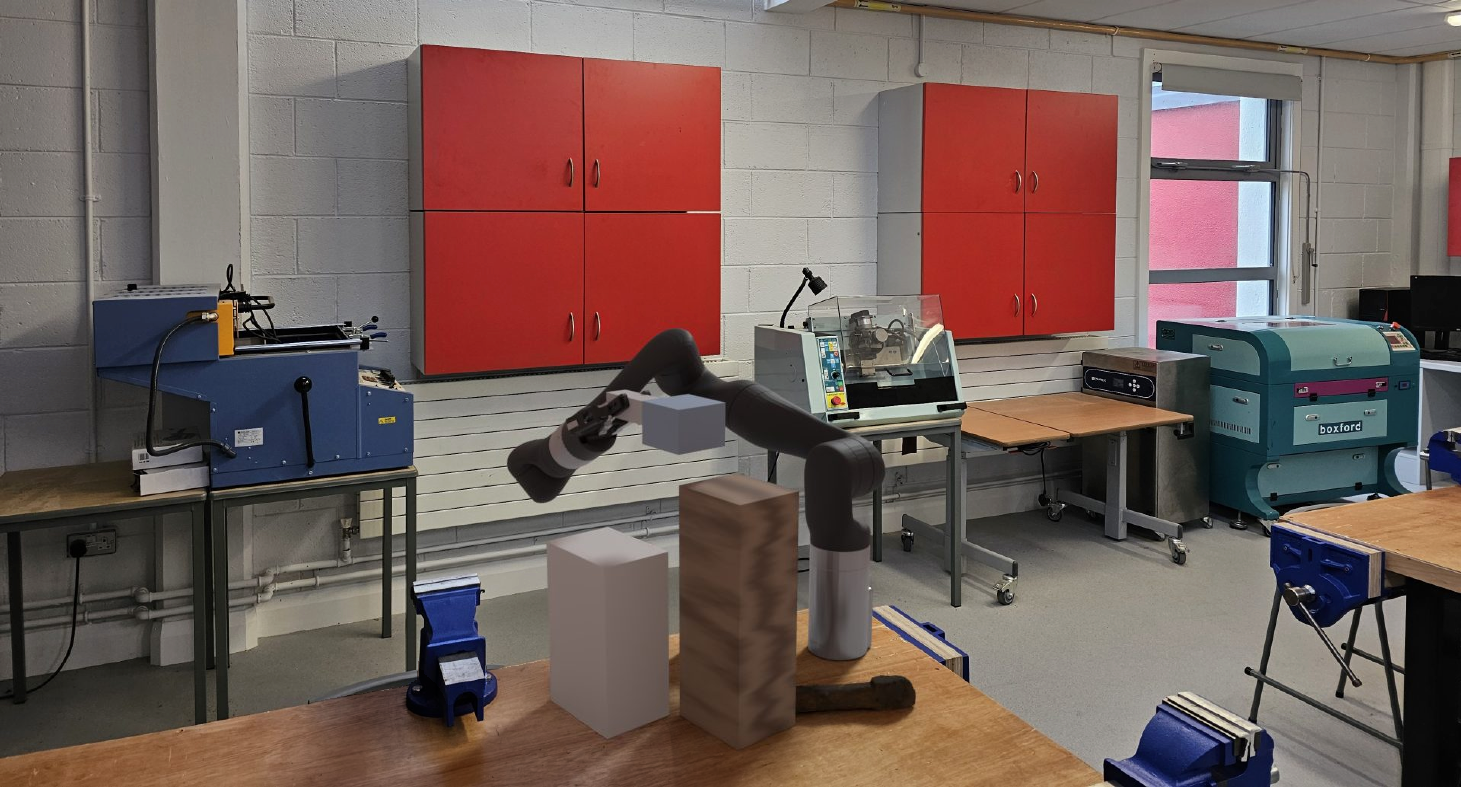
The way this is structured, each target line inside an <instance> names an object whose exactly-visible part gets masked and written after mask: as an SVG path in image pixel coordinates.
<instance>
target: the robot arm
mask: <svg viewBox="0 0 1461 787" xmlns="http://www.w3.org/2000/svg"><path fill="white" fill-rule="evenodd" d="M653 379H654V381H655V384H656V385H657V386H658V388H659V389H660V390H661V392H663V393H664V394H665V395H667V396H668V397H672V396H679V395H686V394H690V395H694V396H698V397H703V398H707V399H711V400H716V401H720V402H725V428H727V429H728V430H729V431H731V432H732V433H734V434H735V435H736V436H738V437H740V438H741V439H743V440H745V441H747V443H750V444H752V445H754V446H756V447H758V448H761V449H765V450H769V451H770V452H775V453H780V454H784V455H788V456H794V457H796V458H800V459H803V460H805V463H804V469H803V470H804V471H803V486H804V487H803V488H804V489H803V490H804V493H803V494H804V513H805V514H804V516H805V522H806V525H807V528H808V532H809V570H808V571H809V573H808V574H809V580H808V622H807V623H808V627H807V629H808V630H807V631H808V633H807V649H808V650H809V652H810V653H811V654H813V655H815V656H817V657H819V658H823V659H826V660H833V661H850V660H855V659H858V658H861V657H863V656H864V655H865V654H866V653H867V652H868V649H869V648H870V647H872V642H873V640H872V639H873V638H872V637H873V635H872V634H873V610H874V608H873V607H874V606H873V605H874V604H873V602H874V590H873V588H872V587H871V586H870V569H871V565H870V564H871V539H872V538H871V536H872V534H871V533H872V532H871V527H870V525H869V524H868V523H867V522H866V521H865V520H864V521H863V520H861V519H858V518H854V512H853V499H857V498H860V497H864V496H867V495H869V494H871V493H873V492H874V491H876V490H877V489H878V488H880V487H881V486H882V483H883V482H884V480H885V477H886V472H887V471H886V464H885V461H884V458H883V457H882V454H881V452H880V451H879V450H878V449H877V447H876V446H875V445H874V444H873V443H872V442H871V441H869V440H868V439H867V438H865V437H862V436H860V435H859V434H855V433H853V432H851V431H848V430H846V429H842V428H841V427H839V426H836V425H833V424H831V423H829V422H827V421H824V420H822V419H821V418H820V417H818V416H815V415H814V414H812V413H810V412H808V411H807V410H806V409H803V408H801V407H800V406H799V405H796V404H795V403H793V402H791V401H789V400H787V399H786V398H784V397H782V396H781V395H779V394H778V393H777V392H775V391H773V390H771V389H769V388H768V387H767V386H765V385H762V384H761V383H759V382H756V381H754V380H750V379H738V380H736V379H735V380H730V381H725V380H724V379H722V378H721V377H719V376H717V375H715V374H714V373H713V372H711V370H709V369H708V368H707V367H706V365H705V363H704V362H703V360H702V357H701V354H700V351H699V349H698V346H697V343H696V341H695V339H694V337H693V335H692V334H691V333H690V331H688V330H686V329H684V328H680V327H672V328H668V329H666V330H662V331H661V332H660V333H657V334H656V335H654V336H653V337H652V338H650V340H648V342H647V343H646V344H644V346H642V347H641V349H640V350H639V351H638V352H637V353H636V354H635V355H634V357H633V358H632V359H631V360H630V361H629V362H628V363H627V364H626V365H625V366H624V367H623V368H622V369H621V371H620V372H619V373H618V374H617V375H616V376H615V377H614V379H613V380H611V381H610V383H609V384H608V385H607V386H606V387H605V388H604V389H603V390H602V391H601V392H599V394H598V395H597V396H596V397H595V398H594V399H593V400H591V401H590V402H589V403H588V404H586V406H584V407H581V408H580V409H579V410H577V411H576V412H575V413H574V414H573V415H571V416H570V417H567V418H566V419H565V421H564V422H562V423H561V424H560V425H559V426H557V428H556V429H555V430H554V431H553V432H552V433H550V434H549V435H548V436H547V437H544V438H539V439H538V438H537V439H533V440H529V441H525V442H523V443H521V444H519V445H517V446H516V447H514V448H513V449H512V450H511V452H510V453H509V454H508V456H507V459H506V468H507V470H508V472H509V473H510V475H511V476H512V477H513V479H515V481H516V482H517V484H518V485H519V486H520V487H521V488H522V489H523V491H524V492H525V493H526V494H527V495H528V496H529V498H530V499H531V500H532V501H533V502H534V503H536V504H546V503H550V502H552V501H553V500H555V499H556V498H557V497H559V495H560V493H561V492H562V491H563V490H564V488H565V487H566V485H567V484H568V482H569V480H570V479H572V478H571V477H572V476H573V475H574V473H575V472H577V470H578V469H579V468H581V467H584V466H587V465H589V464H590V463H591V462H593V461H594V460H596V459H597V458H599V457H600V456H602V455H603V454H605V453H606V452H608V451H609V450H611V448H613V446H614V445H615V443H616V441H617V437H618V434H619V433H621V432H622V431H624V429H625V428H626V427H628V426H629V427H630V426H631V425H632V424H634V423H633V422H629V421H626V420H622V419H619V418H615V416H618V415H620V414H621V413H622V412H624V411H625V410H626V409H628V408H629V407H630V404H629V400H628V396H627V394H626V393H623V394H620V395H619V396H617V397H616V398H615V399H613V400H612V401H611V402H606V392H612V391H620V390H629V391H633V392H637V393H641V394H645V395H650V396H652V393H651V391H650V390H649V389H647V390H644V388H645V387H646V386H647V385H648V384H649V382H651V381H652V380H653ZM637 425H638V426H639V425H640V424H637ZM640 426H641V425H640Z"/></svg>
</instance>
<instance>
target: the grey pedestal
mask: <svg viewBox="0 0 1461 787" xmlns="http://www.w3.org/2000/svg"><path fill="white" fill-rule="evenodd" d="M545 545H546V572H547V573H546V576H547V577H546V579H547V581H546V582H547V618H548V647H549V648H548V650H549V652H548V653H549V656H548V658H549V682H550V683H549V684H550V686H549V688H550V689H549V690H550V692H549V693H550V701H551V702H552V703H554V704H555V705H557V706H558V707H559V708H561V709H563V710H564V711H565V712H567V713H568V714H570V715H571V716H573V717H574V718H576V719H577V720H579V721H580V722H582V723H583V724H585V725H586V726H587V727H589V728H590V729H592V730H594V731H595V732H596V733H598V734H599V735H600V736H602V737H604V738H605V739H607V740H609V739H612V738H614V737H616V736H620V735H623V734H624V733H627V732H629V731H631V730H635V729H637V728H640V727H642V726H644V725H645V726H646V725H647V724H651V723H652V722H654V721H657V720H660V719H663V718H665V717H667V716H670V630H669V629H670V620H669V618H670V615H669V613H670V611H669V609H670V608H669V606H670V604H669V602H670V601H669V600H670V599H669V598H670V596H669V590H670V589H669V584H670V582H669V579H670V578H669V551H668V550H665V549H663V548H661V547H658V546H655V545H653V544H650V543H649V542H646V541H643V540H641V539H639V538H636V537H633V536H632V535H628V534H626V533H623V532H622V531H619V530H616V529H615V528H611V527H609V526H606V527H603V528H598V529H593V530H588V531H585V532H580V533H576V534H571V535H568V536H564V537H559V538H554V539H551V540H547V541H546V544H545Z"/></svg>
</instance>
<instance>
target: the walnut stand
mask: <svg viewBox="0 0 1461 787" xmlns="http://www.w3.org/2000/svg"><path fill="white" fill-rule="evenodd" d="M799 513H800V491H799V490H797V489H792V488H789V487H787V486H782V485H779V484H776V483H772V482H769V481H765V480H762V479H759V478H756V477H753V476H750V475H749V476H748V475H745V474H741V473H739V472H736V473H731V474H727V475H726V474H725V475H721V476H716V477H712V478H707V479H702V480H698V481H693V482H688V483H684V484H679V485H678V582H679V583H678V585H679V586H678V592H679V594H678V598H679V599H678V601H679V602H678V608H679V609H678V616H679V619H678V620H679V621H678V622H679V623H678V624H679V625H678V628H679V629H678V630H679V636H678V638H679V640H678V641H679V646H678V648H679V656H678V657H679V661H678V662H679V716H680V717H682V718H684V719H685V720H687V721H688V722H690V723H692V724H694V725H695V726H697V727H698V728H700V729H702V730H703V731H705V732H707V733H709V734H710V735H711V736H714V737H715V738H717V739H718V740H721V741H722V742H723V743H725V744H727V745H728V746H730V747H732V748H733V749H735V750H737V751H740V750H742V749H744V748H747V747H750V746H751V745H754V744H756V743H758V742H760V741H763V740H765V739H767V738H770V737H772V736H773V735H776V734H779V733H781V732H783V731H786V730H787V729H789V728H792V727H794V726H796V715H795V702H796V686H797V638H798V636H797V635H798V634H797V631H798V628H797V627H798V587H799V586H798V584H799V582H798V577H799V575H798V574H799V526H800V525H799V518H800V516H799V515H800V514H799Z"/></svg>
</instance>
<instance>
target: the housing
mask: <svg viewBox="0 0 1461 787" xmlns="http://www.w3.org/2000/svg"><path fill="white" fill-rule="evenodd" d="M623 393H626V394H627V396H628V400H629V404H630V407H629V408H628V409H626V410H625V411H624V412H622V413H621V414H620V415H618V416H615V418H619V419H622V420H626V421H629V422H633V423H632V424H637V425H638V424H640V426H641V430H642V431H641V437H642V440H641V442H642V443H641V444H642V445H644V446H648V447H650V448H654V449H657V450H660V451H664V452H667V453H671V454H674V455H677V456H680V455H681V456H682V455H685V454H686V455H687V454H692V453H695V452H696V453H697V452H701V451H707V450H713V449H717V448H722V447H726V427H725V402H720V401H716V400H711V399H707V398H703V397H698V396H694V395H690V394H686V395H679V396H672V397H671V396H666V397H657V396H653V395H651V396H650V395H645V394H641V392H640V393H637V392H633V391H629V390H620V391H612V392H606V402H611V401H612V400H613V399H615V398H616V397H617V396H619V395H620V394H623Z"/></svg>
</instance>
